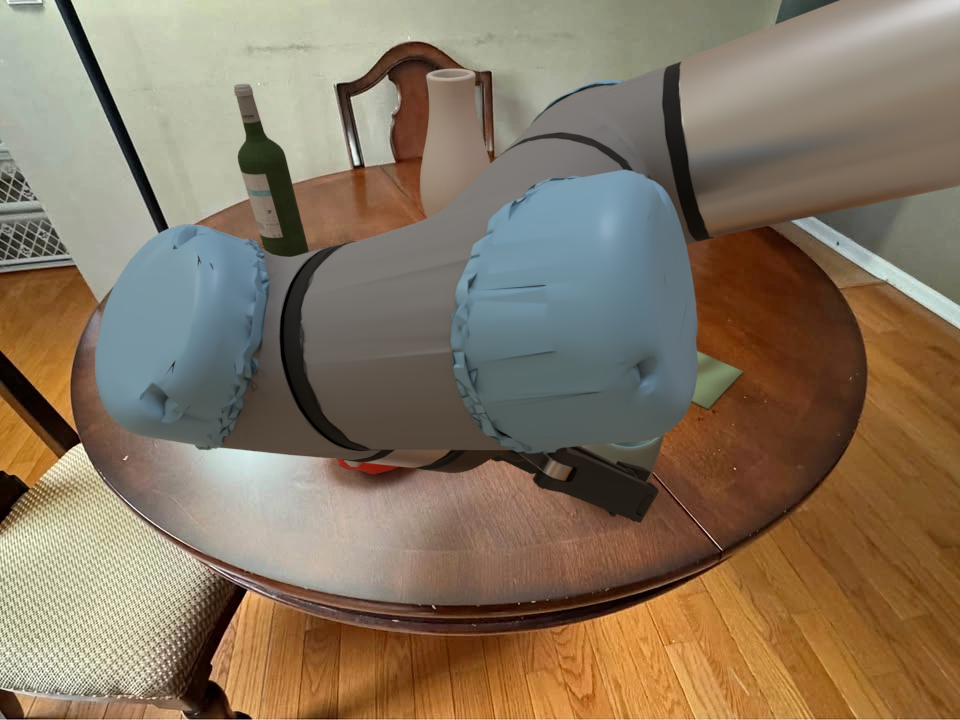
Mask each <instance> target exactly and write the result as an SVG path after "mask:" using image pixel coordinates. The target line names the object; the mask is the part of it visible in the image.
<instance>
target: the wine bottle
mask: <svg viewBox="0 0 960 720" xmlns="http://www.w3.org/2000/svg"><path fill="white" fill-rule="evenodd" d="M233 91H234V96H235V97H236V101H237V104H238V108H239V112H240V117H241V120H242V124H243V128H244V133H245V141H244V142H243V144H242V145H241V146H240V148H239V150H238V153H237V163H238V167H239V169H240V173H241V176H242V180H243V183H244V186H245V190H246V192H247V196H248V199H249V203H250V206H251V209H252V212H253V216H254V219H255V223H256V225H257V229H258V232H259V237H260V240H261V242H262V246H263V249H264V250H266V251H268V252H269V253H271V254H273V255H277V256H284V257H293V256H297V255H301V254H304V253H308V252H310V251H309V245H308V241H307V237H306V233H305V230H304V226H303V225H304V224H303V222H302V218H301V214H300V213H301V212H300V210H299V205H298V202H297V197H296V193H295V189H294V185H293V181H292V177H291V173H290V169H289V166H288V161H287V157H286V154H285V150H284V149H283V148H282V147H281V146H280V145H279V144H278V143H277V142H276V141H274V140H272V139H270V137H268V136H267V135H266V133H265V130H264V127H263V123H262V120H261V117H260V113H259V111H258V107H257V103H256V101H255V97H254V91H253V87H252V86H251V84H250V83H239V84H235V85H233Z"/></svg>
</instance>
